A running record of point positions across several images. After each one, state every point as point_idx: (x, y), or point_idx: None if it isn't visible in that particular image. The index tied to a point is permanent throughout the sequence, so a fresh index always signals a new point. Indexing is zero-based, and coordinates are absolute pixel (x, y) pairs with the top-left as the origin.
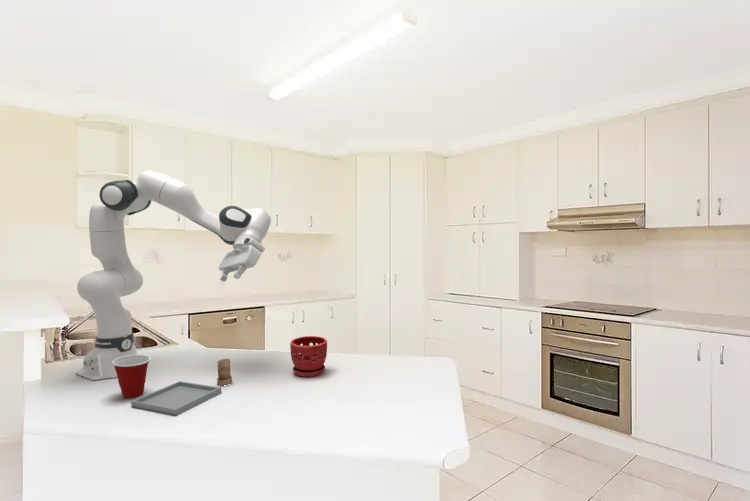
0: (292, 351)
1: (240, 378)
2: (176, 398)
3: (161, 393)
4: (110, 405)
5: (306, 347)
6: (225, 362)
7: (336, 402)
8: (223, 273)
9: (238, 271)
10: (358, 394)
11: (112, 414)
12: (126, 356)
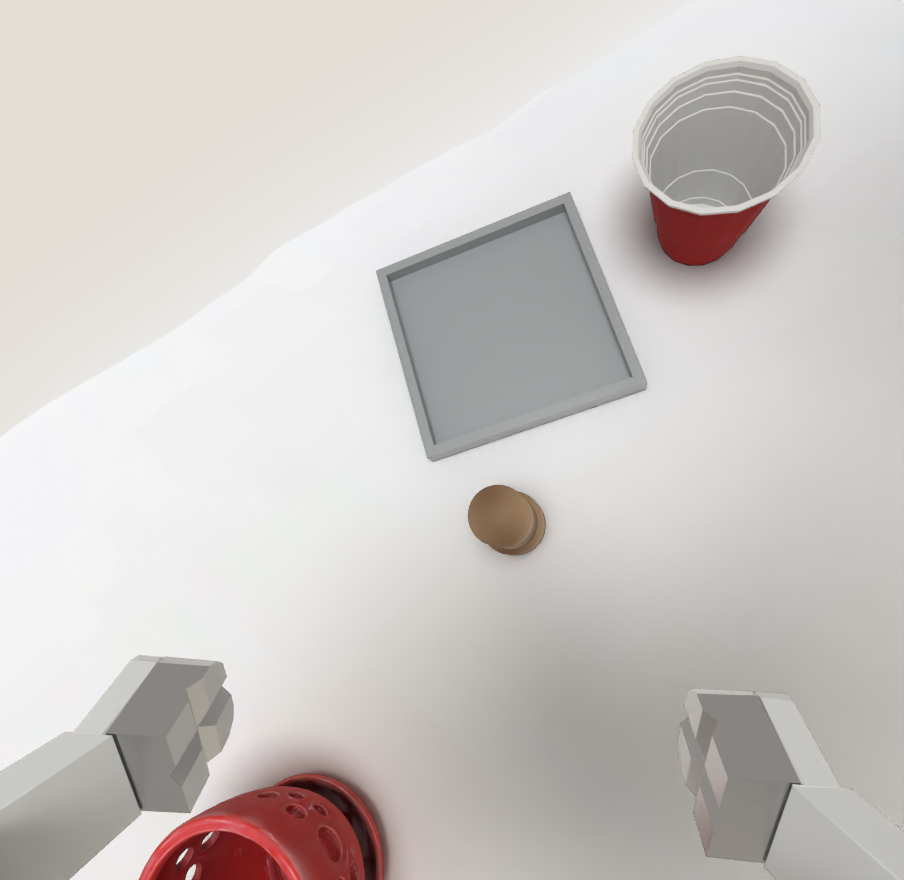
0: (273, 805)
1: (518, 606)
2: (501, 322)
3: (600, 302)
4: None
5: (169, 834)
6: (469, 507)
7: (61, 651)
8: (866, 868)
9: (49, 752)
10: None
11: (558, 152)
12: (811, 120)
